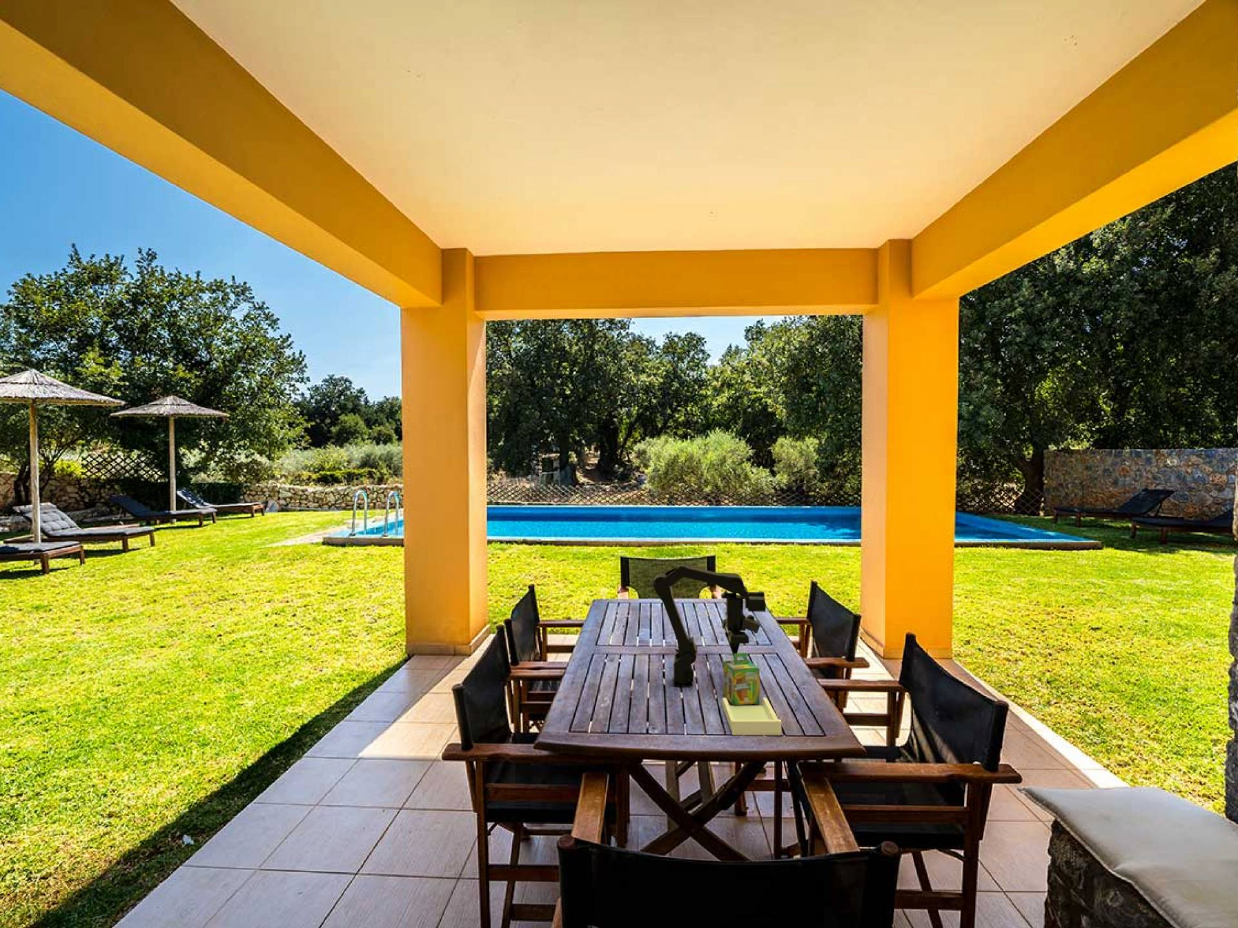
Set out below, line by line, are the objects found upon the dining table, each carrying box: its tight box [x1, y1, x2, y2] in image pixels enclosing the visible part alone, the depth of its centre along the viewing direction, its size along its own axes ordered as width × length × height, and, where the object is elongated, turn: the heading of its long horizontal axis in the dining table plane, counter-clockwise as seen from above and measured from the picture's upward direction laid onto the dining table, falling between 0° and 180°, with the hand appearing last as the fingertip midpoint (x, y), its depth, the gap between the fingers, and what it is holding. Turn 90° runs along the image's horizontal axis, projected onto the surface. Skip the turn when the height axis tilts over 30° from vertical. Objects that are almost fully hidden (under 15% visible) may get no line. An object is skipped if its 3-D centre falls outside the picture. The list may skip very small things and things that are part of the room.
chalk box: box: [723, 652, 760, 706], centre depth 193 cm, size 9×9×15 cm
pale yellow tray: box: [722, 697, 782, 736], centre depth 179 cm, size 14×18×4 cm
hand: (734, 655), depth 204 cm, fingers closed
